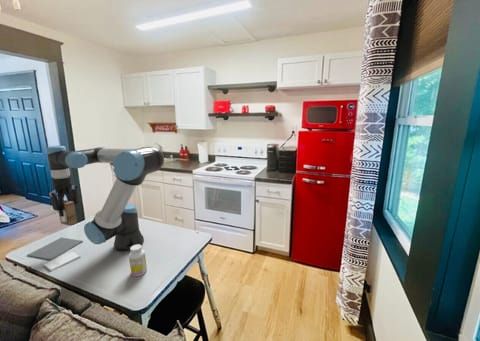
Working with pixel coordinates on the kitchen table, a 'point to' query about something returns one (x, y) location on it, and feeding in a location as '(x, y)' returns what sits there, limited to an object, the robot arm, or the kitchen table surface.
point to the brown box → (69, 213)
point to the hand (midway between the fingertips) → (68, 219)
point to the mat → (55, 248)
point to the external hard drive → (61, 261)
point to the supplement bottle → (137, 260)
